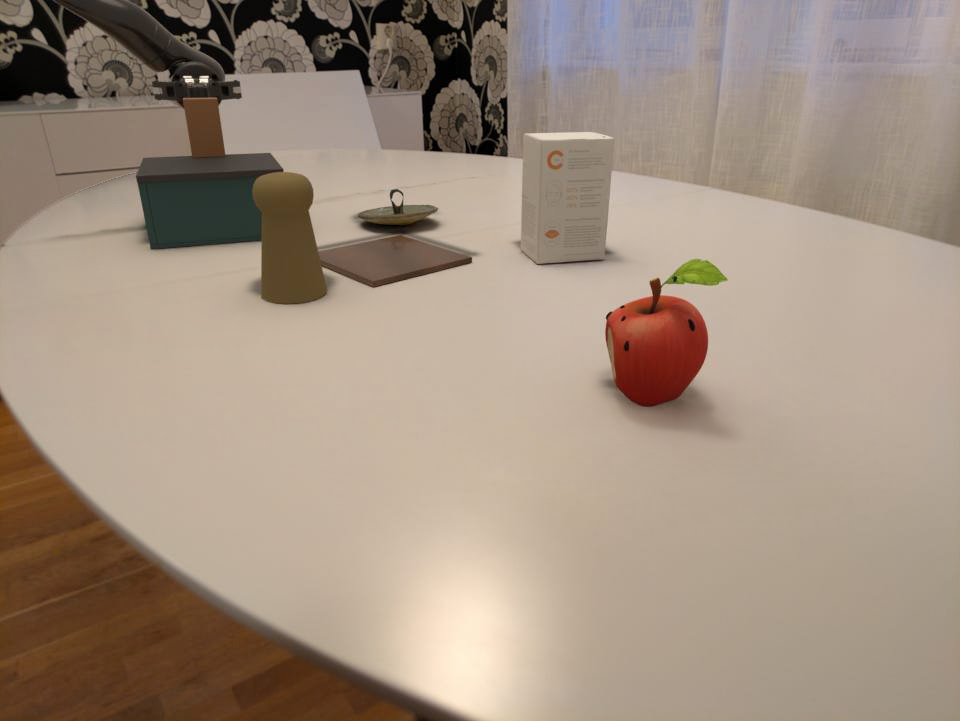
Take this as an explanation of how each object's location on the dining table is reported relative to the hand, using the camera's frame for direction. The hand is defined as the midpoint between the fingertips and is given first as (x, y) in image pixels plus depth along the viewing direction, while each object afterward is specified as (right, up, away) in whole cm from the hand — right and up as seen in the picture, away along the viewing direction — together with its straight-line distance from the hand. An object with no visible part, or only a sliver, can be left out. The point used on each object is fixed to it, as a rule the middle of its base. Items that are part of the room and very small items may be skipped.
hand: (198, 93), depth 94 cm
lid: (+28, -19, -5) cm, 35 cm away
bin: (+6, -21, -9) cm, 23 cm away
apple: (+51, -40, -49) cm, 81 cm away
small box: (+48, -26, -17) cm, 57 cm away
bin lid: (+6, -14, -12) cm, 19 cm away
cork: (+22, -31, -30) cm, 48 cm away
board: (+29, -26, -20) cm, 44 cm away
